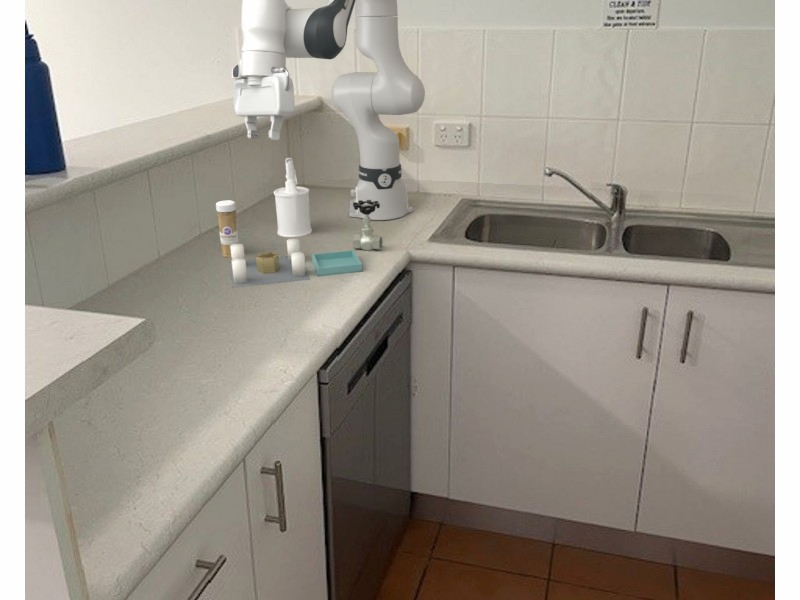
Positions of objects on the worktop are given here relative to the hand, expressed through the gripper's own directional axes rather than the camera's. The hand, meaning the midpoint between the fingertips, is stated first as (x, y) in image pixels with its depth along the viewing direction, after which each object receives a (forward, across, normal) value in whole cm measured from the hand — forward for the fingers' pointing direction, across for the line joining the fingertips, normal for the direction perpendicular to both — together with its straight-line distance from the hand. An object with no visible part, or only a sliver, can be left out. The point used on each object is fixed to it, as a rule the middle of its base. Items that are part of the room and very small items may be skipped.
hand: (263, 139), depth 148 cm
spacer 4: (+30, +4, -11) cm, 32 cm away
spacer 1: (+29, +18, -3) cm, 34 cm away
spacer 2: (+31, +8, +1) cm, 32 cm away
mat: (+30, +11, -7) cm, 32 cm away
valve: (+26, +8, -33) cm, 42 cm away
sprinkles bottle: (+28, +27, -5) cm, 39 cm away
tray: (+28, +3, -20) cm, 35 cm away
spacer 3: (+28, +12, -15) cm, 34 cm away
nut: (+29, +11, -7) cm, 32 cm away
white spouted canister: (+24, +32, -25) cm, 47 cm away
